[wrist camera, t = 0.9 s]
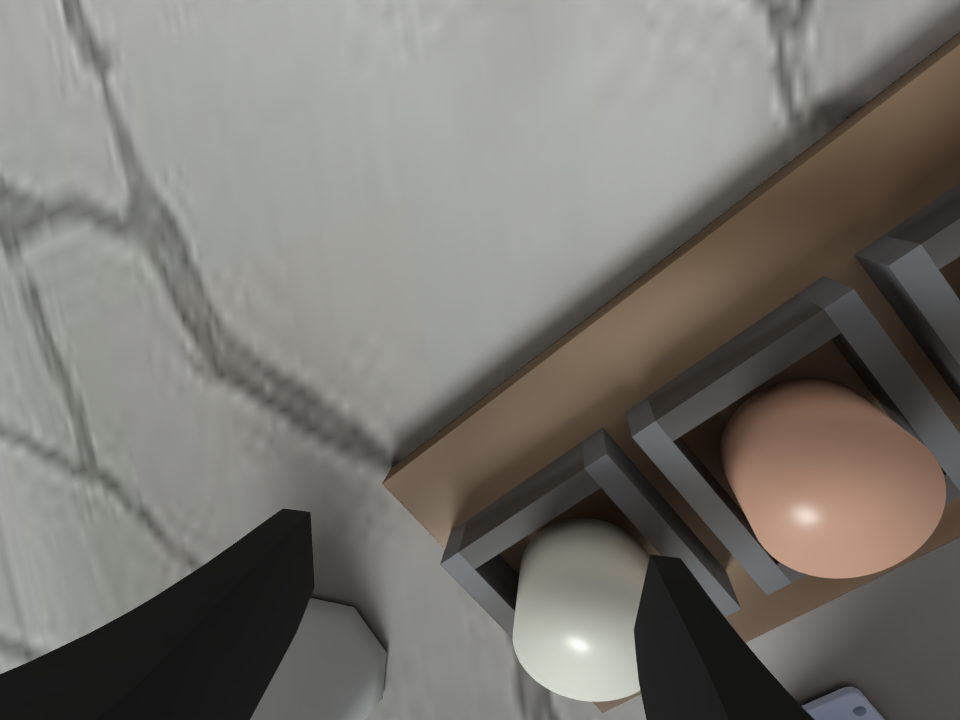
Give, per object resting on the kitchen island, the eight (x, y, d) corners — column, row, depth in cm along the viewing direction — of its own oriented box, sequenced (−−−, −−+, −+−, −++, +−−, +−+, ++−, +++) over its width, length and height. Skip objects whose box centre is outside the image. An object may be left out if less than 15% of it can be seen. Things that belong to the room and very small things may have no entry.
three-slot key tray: (1280, 342, 18) (1426, 379, 15) (601, 688, 26) (605, 757, 23) (1054, -41, 16) (1171, -90, 13) (390, 468, 24) (365, 512, 21)
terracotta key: (912, 461, 18) (983, 521, 15) (774, 537, 19) (812, 605, 16) (826, 347, 17) (882, 385, 14) (689, 435, 19) (713, 487, 16)
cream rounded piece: (681, 588, 21) (700, 660, 18) (574, 646, 22) (576, 722, 19) (597, 494, 20) (603, 553, 17) (493, 561, 21) (482, 626, 18)
